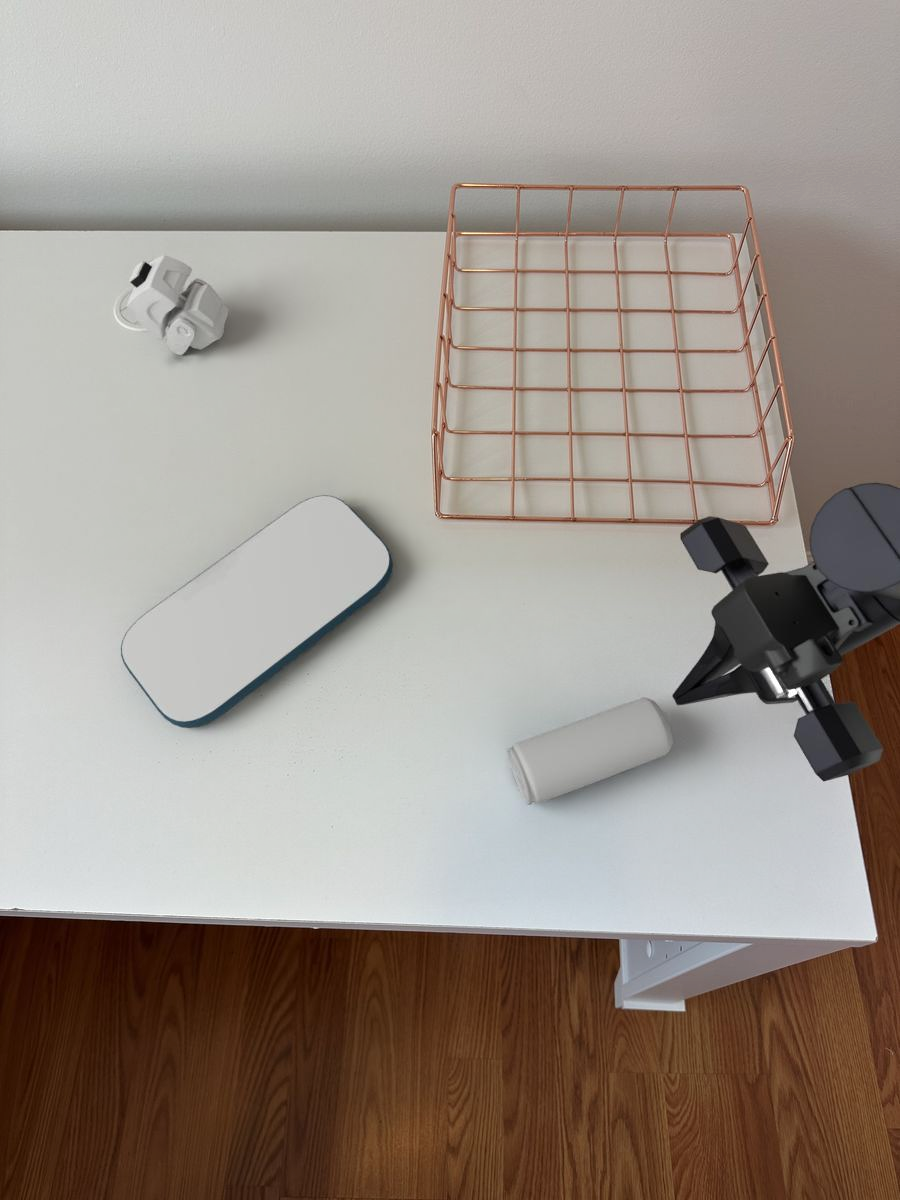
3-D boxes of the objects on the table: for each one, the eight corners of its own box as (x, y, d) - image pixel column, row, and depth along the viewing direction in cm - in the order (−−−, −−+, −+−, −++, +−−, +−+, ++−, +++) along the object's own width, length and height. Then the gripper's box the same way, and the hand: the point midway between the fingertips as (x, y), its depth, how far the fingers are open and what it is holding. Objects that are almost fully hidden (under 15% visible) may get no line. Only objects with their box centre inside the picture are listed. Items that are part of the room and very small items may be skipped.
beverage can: (671, 715, 62) (521, 770, 61) (678, 765, 64) (533, 819, 63) (642, 683, 66) (501, 734, 65) (650, 731, 69) (514, 781, 67)
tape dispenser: (212, 326, 90) (129, 263, 84) (247, 303, 85) (161, 234, 79) (194, 369, 87) (107, 308, 81) (229, 347, 83) (140, 280, 77)
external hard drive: (187, 746, 68) (179, 740, 66) (114, 648, 72) (104, 640, 70) (408, 574, 74) (406, 564, 72) (330, 492, 78) (326, 480, 76)
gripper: (745, 442, 50) (559, 584, 58) (929, 724, 42) (684, 840, 51) (813, 474, 58) (640, 595, 67) (977, 715, 50) (759, 817, 59)
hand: (676, 700), depth 60 cm, fingers closed
